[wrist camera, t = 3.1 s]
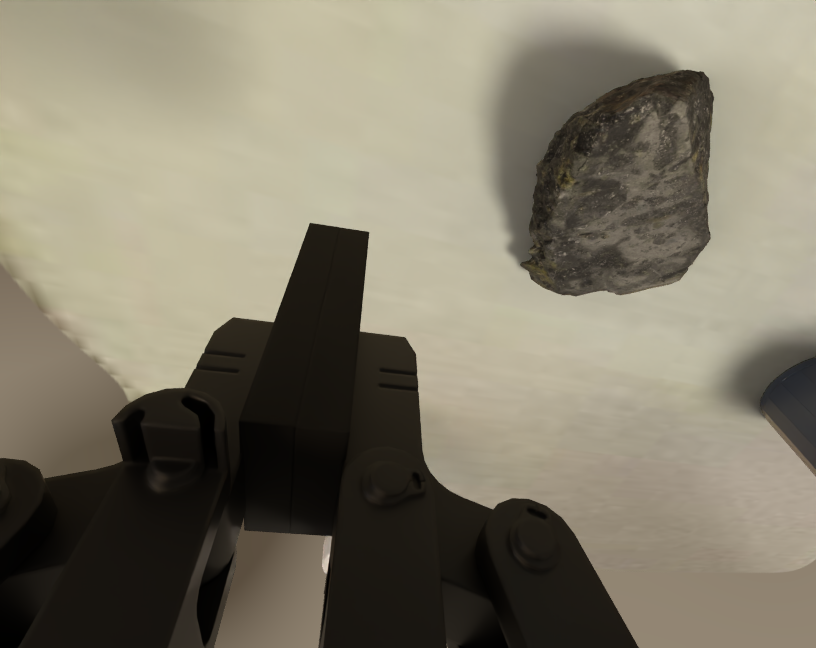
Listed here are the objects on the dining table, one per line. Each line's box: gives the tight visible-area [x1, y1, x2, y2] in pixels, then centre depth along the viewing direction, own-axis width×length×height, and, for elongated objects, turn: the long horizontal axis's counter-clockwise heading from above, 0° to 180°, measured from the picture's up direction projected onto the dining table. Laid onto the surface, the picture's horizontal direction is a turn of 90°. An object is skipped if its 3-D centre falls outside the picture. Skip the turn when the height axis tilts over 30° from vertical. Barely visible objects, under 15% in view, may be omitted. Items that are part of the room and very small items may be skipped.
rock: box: [520, 70, 714, 296], centre depth 22 cm, size 9×11×6 cm
